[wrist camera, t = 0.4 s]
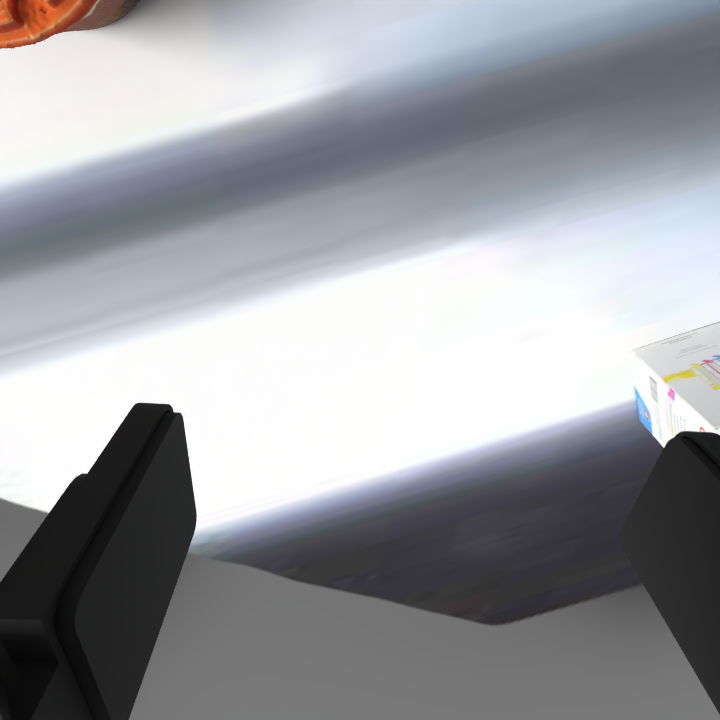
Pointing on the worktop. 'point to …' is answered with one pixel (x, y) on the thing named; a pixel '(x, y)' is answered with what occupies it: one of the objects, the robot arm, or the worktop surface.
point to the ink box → (679, 383)
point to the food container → (55, 18)
